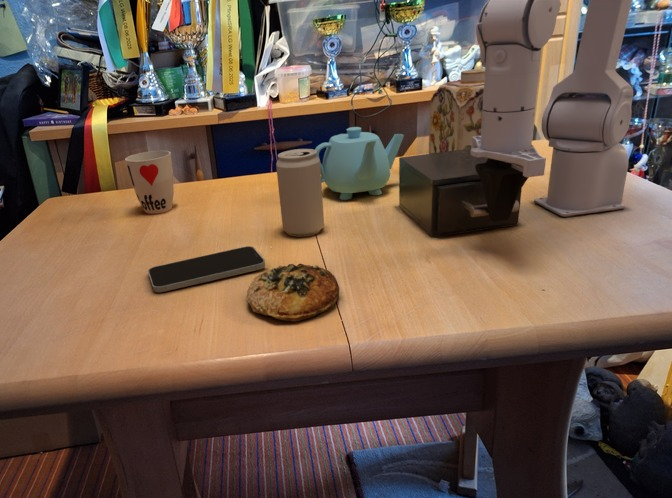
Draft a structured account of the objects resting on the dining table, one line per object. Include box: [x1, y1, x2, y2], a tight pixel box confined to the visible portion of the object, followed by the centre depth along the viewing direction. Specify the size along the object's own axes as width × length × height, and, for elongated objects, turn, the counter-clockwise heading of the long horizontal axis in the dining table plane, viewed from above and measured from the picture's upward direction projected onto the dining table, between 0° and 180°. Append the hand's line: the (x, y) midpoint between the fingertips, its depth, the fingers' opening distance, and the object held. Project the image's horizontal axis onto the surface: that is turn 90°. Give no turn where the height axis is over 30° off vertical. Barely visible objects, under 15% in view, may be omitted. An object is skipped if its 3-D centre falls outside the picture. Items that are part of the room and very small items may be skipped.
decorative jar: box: [428, 68, 485, 154], centre depth 102 cm, size 12×12×18 cm
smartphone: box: [147, 245, 266, 293], centre depth 75 cm, size 7×1×15 cm
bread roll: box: [246, 263, 340, 322], centre depth 64 cm, size 11×11×5 cm
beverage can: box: [275, 148, 325, 238], centre depth 83 cm, size 6×6×12 cm
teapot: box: [314, 126, 405, 201], centre depth 99 cm, size 15×14×11 cm
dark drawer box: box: [436, 181, 523, 233], centre depth 80 cm, size 18×11×6 cm, turn 6°
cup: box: [124, 150, 175, 215], centre depth 102 cm, size 8×8×10 cm
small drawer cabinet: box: [398, 148, 519, 238], centre depth 84 cm, size 15×13×8 cm
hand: (499, 219), depth 71 cm, fingers closed
